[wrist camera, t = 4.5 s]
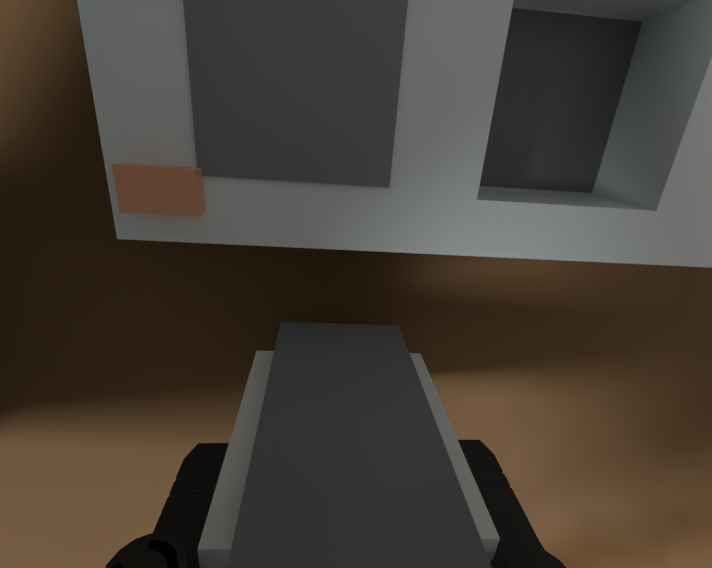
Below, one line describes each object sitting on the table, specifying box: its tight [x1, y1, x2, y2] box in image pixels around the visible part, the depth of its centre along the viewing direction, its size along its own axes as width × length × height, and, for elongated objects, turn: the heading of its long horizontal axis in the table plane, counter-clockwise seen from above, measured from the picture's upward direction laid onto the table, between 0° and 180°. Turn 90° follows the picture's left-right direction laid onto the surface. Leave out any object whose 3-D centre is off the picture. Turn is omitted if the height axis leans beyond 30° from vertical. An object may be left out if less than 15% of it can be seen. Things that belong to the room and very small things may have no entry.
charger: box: [227, 322, 492, 568], centre depth 10 cm, size 4×4×10 cm
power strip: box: [77, 0, 712, 268], centre depth 11 cm, size 20×9×4 cm, turn 86°
